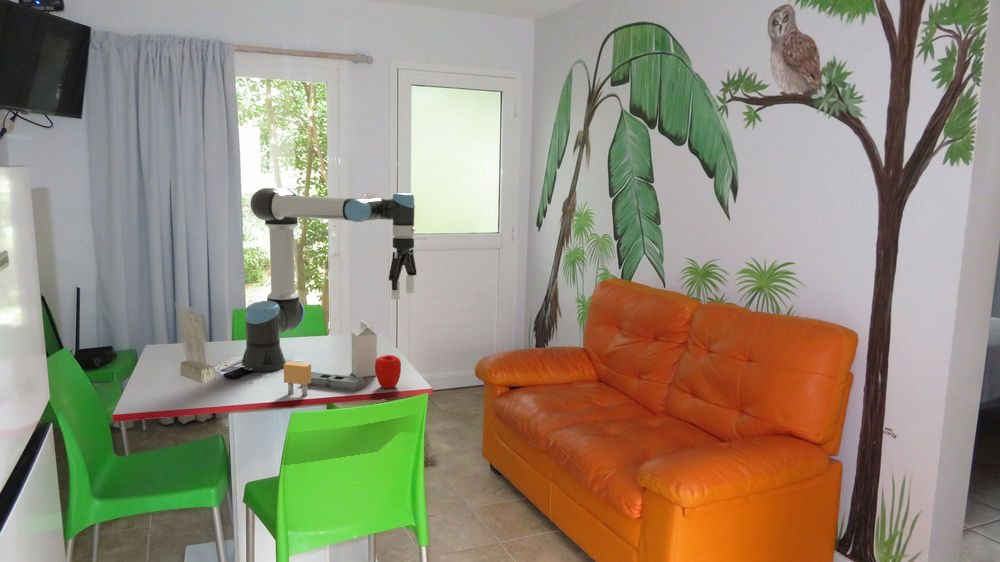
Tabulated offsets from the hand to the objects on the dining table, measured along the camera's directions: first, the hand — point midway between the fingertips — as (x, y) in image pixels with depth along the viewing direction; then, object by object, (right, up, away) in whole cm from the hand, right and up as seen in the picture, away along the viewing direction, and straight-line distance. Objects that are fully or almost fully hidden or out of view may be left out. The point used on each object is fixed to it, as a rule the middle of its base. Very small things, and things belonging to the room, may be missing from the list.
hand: (402, 296), depth 256 cm
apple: (-3, -31, -16) cm, 35 cm away
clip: (-30, -31, -26) cm, 51 cm away
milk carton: (-14, -28, -2) cm, 31 cm away
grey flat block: (-22, -30, -16) cm, 40 cm away
